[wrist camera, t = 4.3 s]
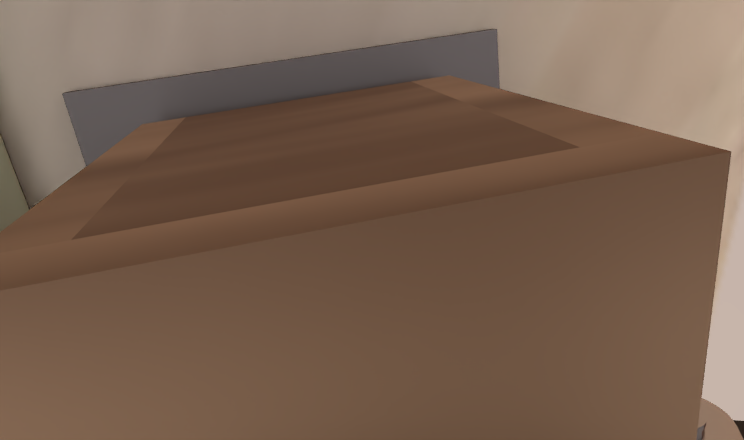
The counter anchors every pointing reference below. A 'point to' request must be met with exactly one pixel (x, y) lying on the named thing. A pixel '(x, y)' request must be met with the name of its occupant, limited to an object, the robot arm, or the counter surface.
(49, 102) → the counter surface
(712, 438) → the robot arm
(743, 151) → the counter surface
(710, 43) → the counter surface
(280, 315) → the brown box
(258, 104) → the grey plate with post
